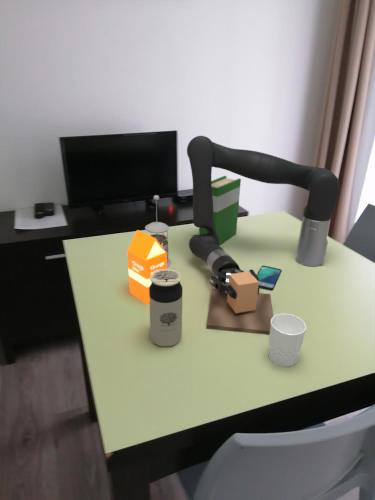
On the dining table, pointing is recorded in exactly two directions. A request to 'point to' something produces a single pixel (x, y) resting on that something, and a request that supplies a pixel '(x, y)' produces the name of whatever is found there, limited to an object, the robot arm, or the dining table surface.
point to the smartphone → (268, 277)
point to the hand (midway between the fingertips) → (246, 294)
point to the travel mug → (165, 307)
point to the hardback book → (225, 207)
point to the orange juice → (144, 263)
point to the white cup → (285, 339)
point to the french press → (159, 228)
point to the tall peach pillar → (243, 292)
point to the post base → (239, 315)
